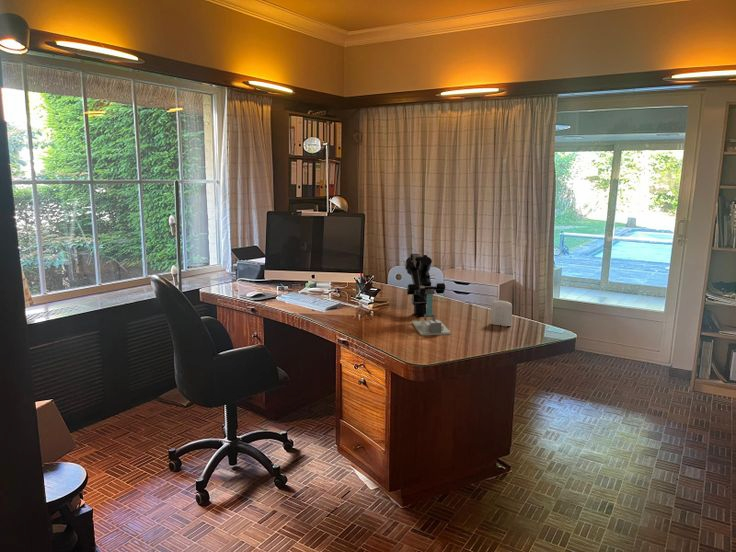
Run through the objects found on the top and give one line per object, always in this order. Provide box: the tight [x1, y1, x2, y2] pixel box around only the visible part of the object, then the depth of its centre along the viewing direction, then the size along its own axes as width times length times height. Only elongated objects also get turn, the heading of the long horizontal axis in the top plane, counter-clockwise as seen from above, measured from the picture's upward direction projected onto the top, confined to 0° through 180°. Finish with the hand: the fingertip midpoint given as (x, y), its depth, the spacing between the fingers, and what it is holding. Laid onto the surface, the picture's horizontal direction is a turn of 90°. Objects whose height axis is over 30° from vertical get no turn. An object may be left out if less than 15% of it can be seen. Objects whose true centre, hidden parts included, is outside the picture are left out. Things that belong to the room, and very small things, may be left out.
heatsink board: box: [412, 313, 452, 336], centre depth 259 cm, size 22×14×6 cm, turn 6°
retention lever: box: [425, 289, 435, 318], centre depth 260 cm, size 2×4×14 cm, turn 95°
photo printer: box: [490, 300, 513, 327], centre depth 263 cm, size 10×4×12 cm, turn 56°
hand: (428, 303), depth 263 cm, fingers closed
